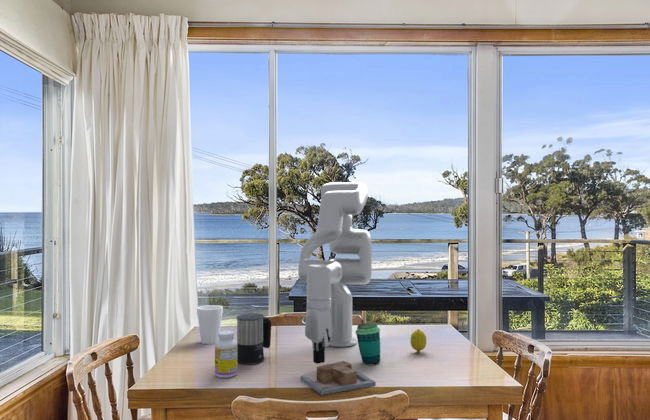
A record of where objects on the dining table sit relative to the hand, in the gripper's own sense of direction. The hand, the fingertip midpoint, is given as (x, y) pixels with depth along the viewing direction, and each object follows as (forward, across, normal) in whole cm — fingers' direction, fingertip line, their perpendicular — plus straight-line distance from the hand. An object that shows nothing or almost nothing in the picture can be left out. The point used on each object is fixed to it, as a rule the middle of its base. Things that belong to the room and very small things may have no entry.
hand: (319, 362), depth 156 cm
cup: (+3, 0, +18) cm, 18 cm away
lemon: (+3, -2, +40) cm, 40 cm away
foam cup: (+3, -48, -22) cm, 53 cm away
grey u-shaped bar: (+2, +12, 0) cm, 13 cm away
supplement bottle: (+2, -8, -27) cm, 29 cm away
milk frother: (+3, -22, -17) cm, 28 cm away
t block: (+2, +13, +1) cm, 13 cm away
